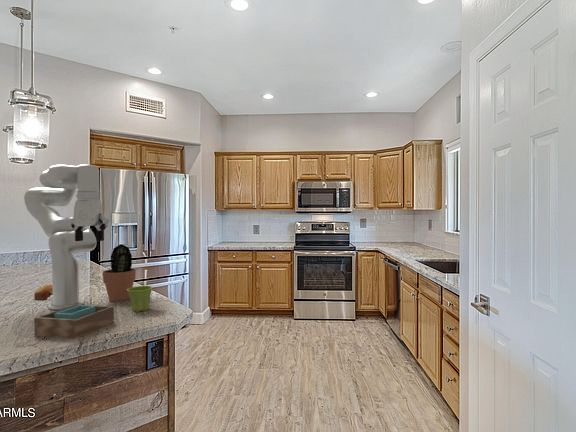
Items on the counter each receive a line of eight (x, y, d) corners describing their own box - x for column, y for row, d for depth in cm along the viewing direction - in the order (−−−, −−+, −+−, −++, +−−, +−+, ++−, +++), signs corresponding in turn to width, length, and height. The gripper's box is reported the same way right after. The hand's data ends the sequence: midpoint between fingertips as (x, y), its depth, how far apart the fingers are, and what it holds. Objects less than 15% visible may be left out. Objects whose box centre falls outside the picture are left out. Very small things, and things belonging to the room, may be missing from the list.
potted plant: (95, 301, 151) (94, 245, 151) (120, 294, 164) (119, 242, 164) (119, 304, 146) (118, 245, 146) (143, 296, 159) (141, 243, 159)
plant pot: (143, 313, 131) (143, 291, 131) (122, 312, 133) (121, 290, 133) (157, 307, 140) (157, 286, 140) (137, 306, 142) (137, 285, 142)
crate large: (34, 336, 109) (34, 317, 109) (76, 321, 124) (76, 304, 124) (76, 339, 105) (75, 320, 105) (113, 323, 121) (113, 306, 121)
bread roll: (57, 302, 168) (54, 286, 169) (65, 295, 162) (61, 279, 164) (33, 306, 159) (30, 290, 161) (40, 299, 154) (37, 283, 156)
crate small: (54, 331, 111) (54, 313, 111) (79, 322, 121) (79, 305, 120) (71, 332, 109) (71, 314, 109) (95, 323, 119) (95, 305, 119)
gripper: (61, 197, 131) (62, 241, 131) (100, 195, 127) (101, 241, 127) (78, 198, 138) (79, 240, 138) (114, 196, 134) (115, 240, 134)
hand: (89, 240), depth 132 cm, fingers open, 9 cm apart
